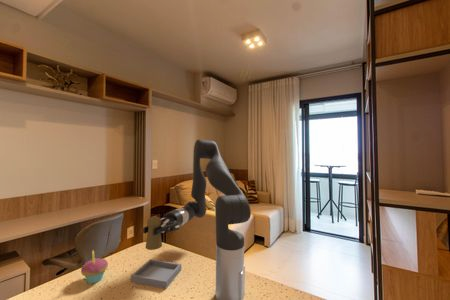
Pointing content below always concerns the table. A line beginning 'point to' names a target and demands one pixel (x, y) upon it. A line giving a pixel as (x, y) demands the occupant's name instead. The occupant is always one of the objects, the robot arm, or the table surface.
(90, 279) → the cupcake
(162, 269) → the gray tray
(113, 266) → the table surface
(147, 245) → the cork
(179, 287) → the table surface
